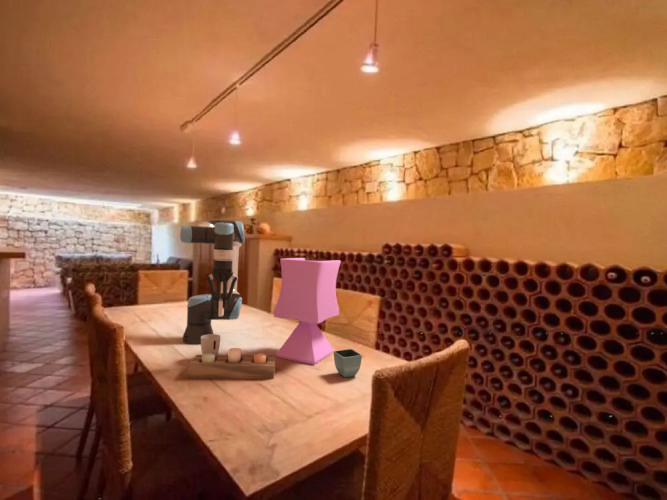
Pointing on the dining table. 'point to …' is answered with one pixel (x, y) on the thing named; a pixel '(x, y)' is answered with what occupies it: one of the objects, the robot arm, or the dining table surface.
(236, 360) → the peach rounded knob
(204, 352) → the cup
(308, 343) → the pink table lamp
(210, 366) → the brown wooden long block
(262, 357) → the button terracotta
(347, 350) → the flower pot
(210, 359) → the button sage
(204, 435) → the dining table surface
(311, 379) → the dining table surface
